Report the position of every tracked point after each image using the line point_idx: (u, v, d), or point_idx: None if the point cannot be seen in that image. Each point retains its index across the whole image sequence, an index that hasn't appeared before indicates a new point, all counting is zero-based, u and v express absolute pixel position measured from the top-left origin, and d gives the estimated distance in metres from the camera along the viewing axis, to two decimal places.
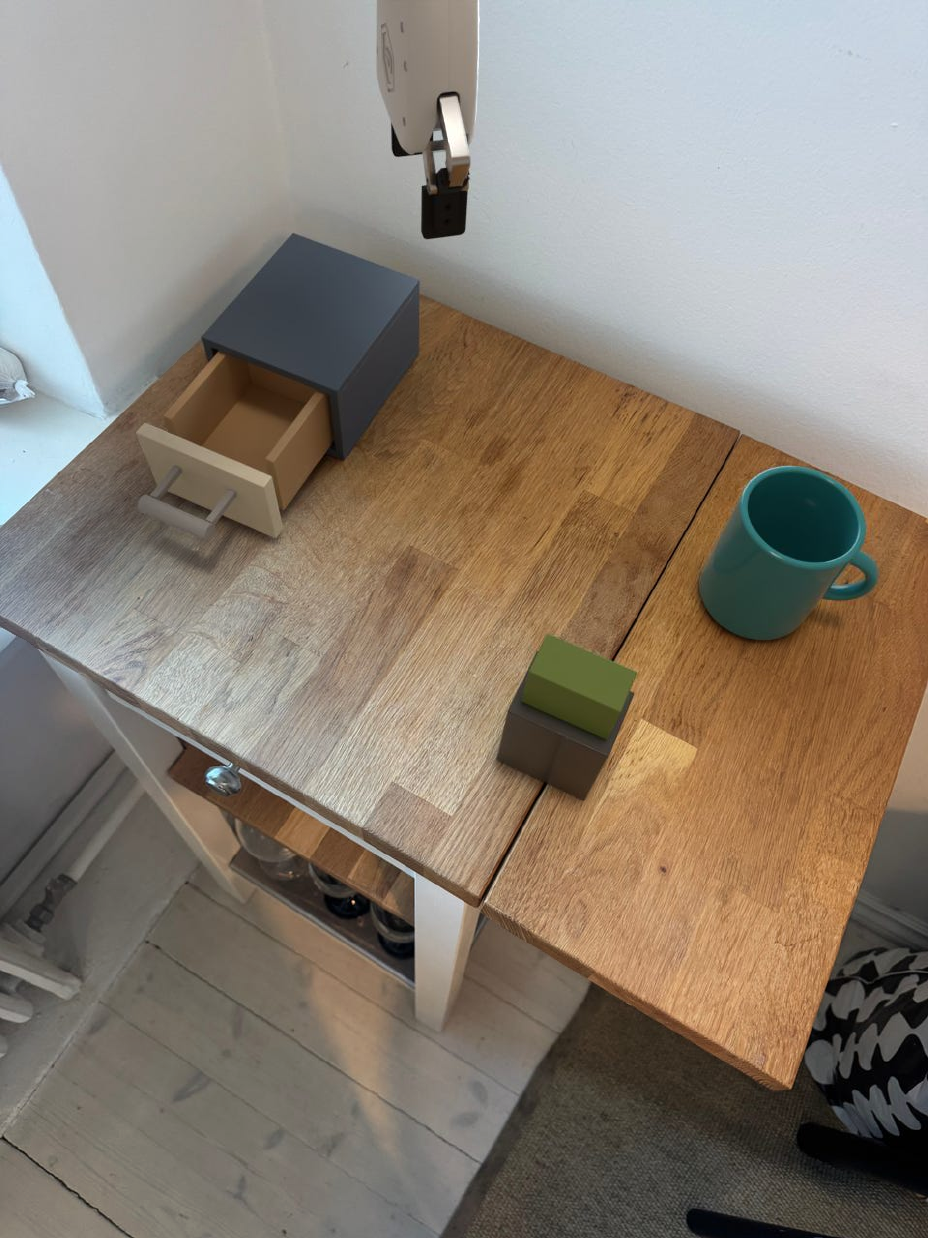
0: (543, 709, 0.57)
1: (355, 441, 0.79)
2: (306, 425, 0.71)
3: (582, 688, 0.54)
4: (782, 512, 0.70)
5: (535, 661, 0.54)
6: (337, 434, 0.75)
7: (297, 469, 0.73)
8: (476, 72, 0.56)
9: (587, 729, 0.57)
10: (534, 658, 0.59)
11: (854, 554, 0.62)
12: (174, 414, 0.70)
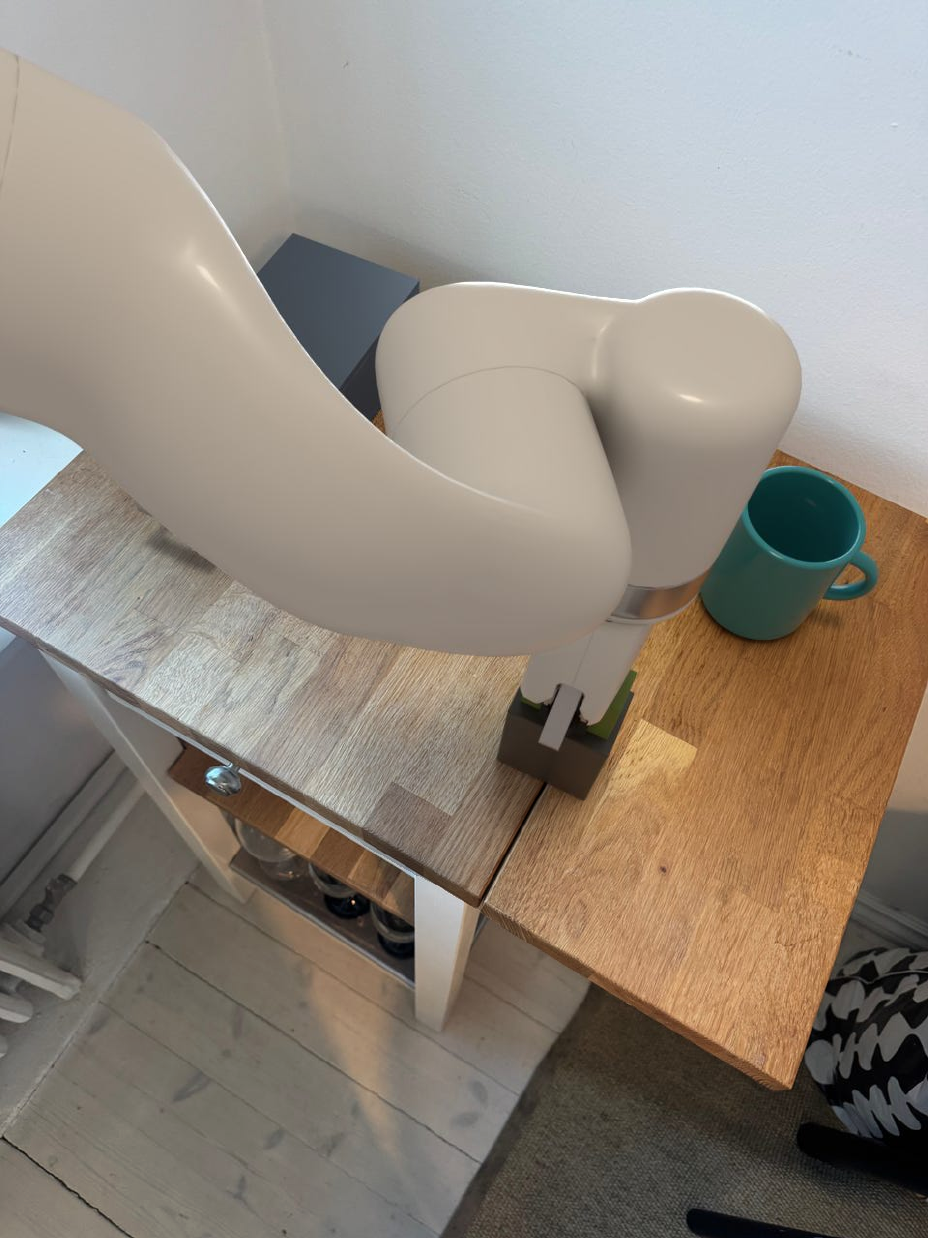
0: None
1: None
2: None
3: None
4: (782, 512, 0.70)
5: None
6: None
7: None
8: (611, 689, 0.44)
9: (587, 729, 0.57)
10: None
11: (854, 554, 0.62)
12: None
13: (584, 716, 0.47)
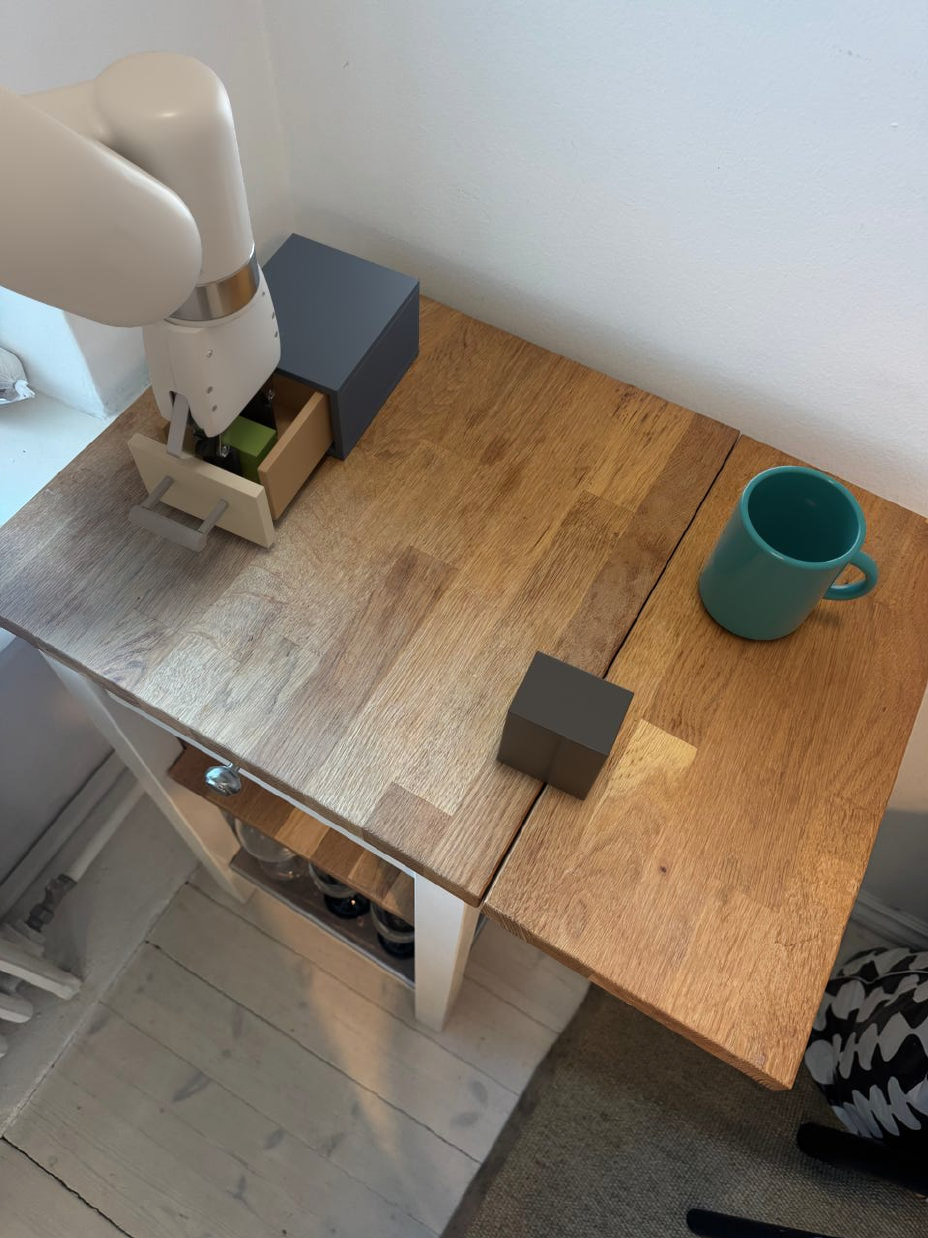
0: None
1: (355, 441, 0.79)
2: (299, 435, 0.71)
3: (230, 440, 0.70)
4: (782, 512, 0.70)
5: None
6: (337, 434, 0.75)
7: (290, 479, 0.72)
8: (200, 390, 0.61)
9: None
10: (534, 658, 0.59)
11: (854, 554, 0.62)
12: (166, 424, 0.70)
13: (199, 424, 0.64)
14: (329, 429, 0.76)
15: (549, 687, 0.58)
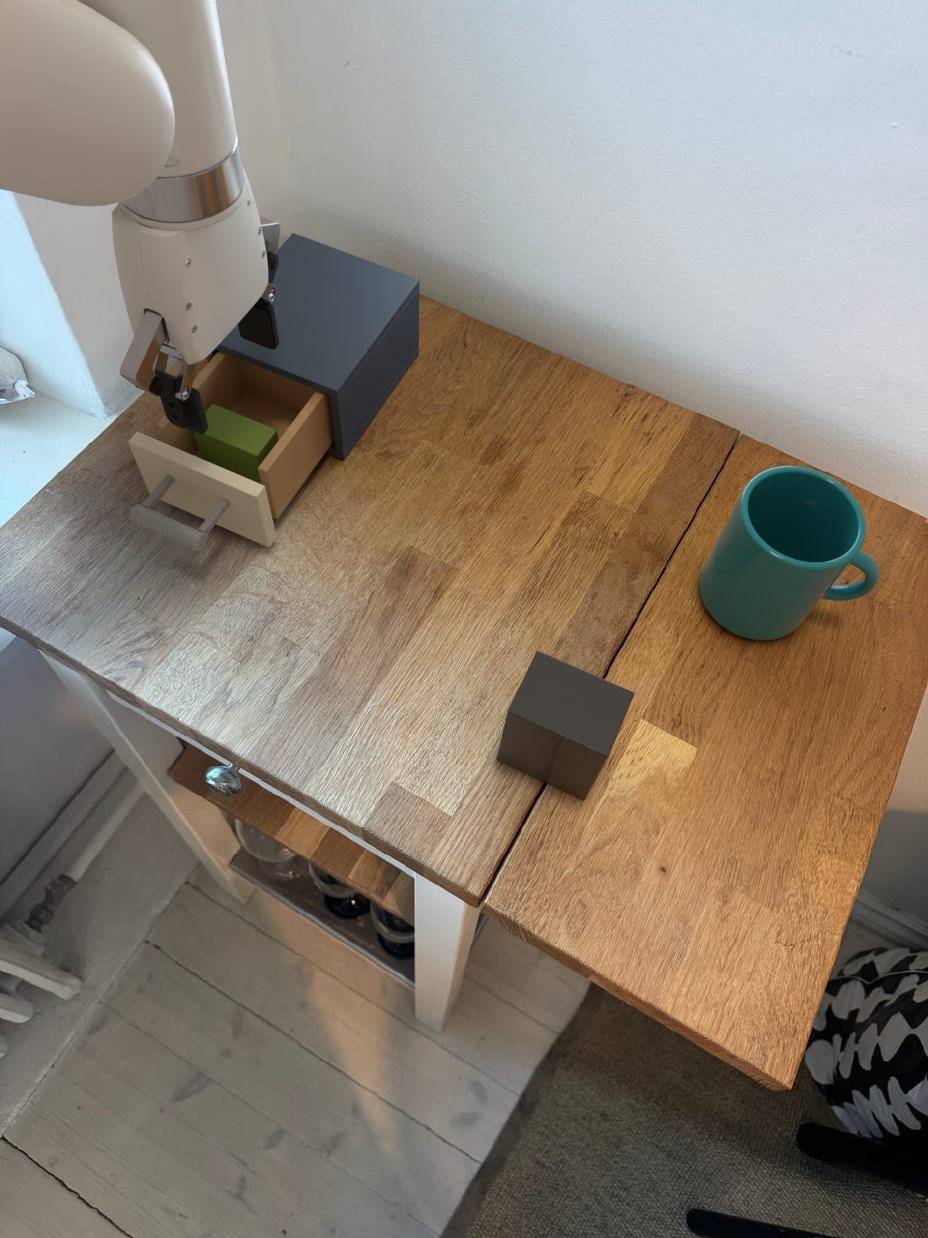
0: None
1: (355, 441, 0.79)
2: (300, 434, 0.71)
3: (230, 439, 0.70)
4: (782, 512, 0.70)
5: None
6: (337, 434, 0.75)
7: (291, 478, 0.72)
8: (178, 306, 0.55)
9: None
10: (534, 658, 0.59)
11: (854, 554, 0.62)
12: (167, 423, 0.70)
13: (177, 348, 0.58)
14: (329, 428, 0.76)
15: (549, 687, 0.58)
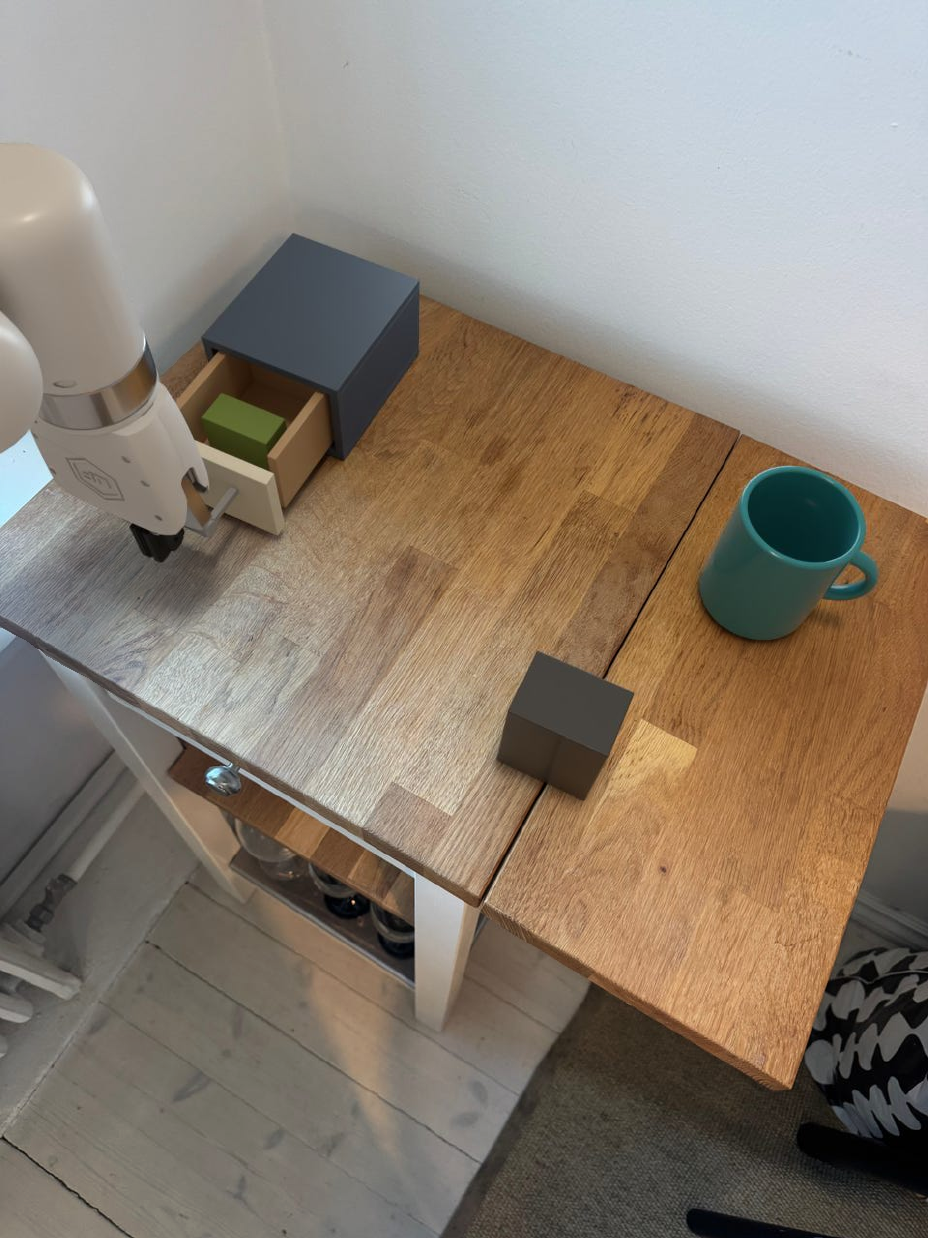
0: None
1: (355, 441, 0.79)
2: (308, 423, 0.71)
3: (239, 428, 0.71)
4: (782, 512, 0.70)
5: (207, 410, 0.72)
6: (337, 434, 0.75)
7: (299, 466, 0.73)
8: None
9: None
10: (534, 658, 0.59)
11: (854, 554, 0.62)
12: None
13: (204, 484, 0.60)
14: None
15: (549, 687, 0.58)
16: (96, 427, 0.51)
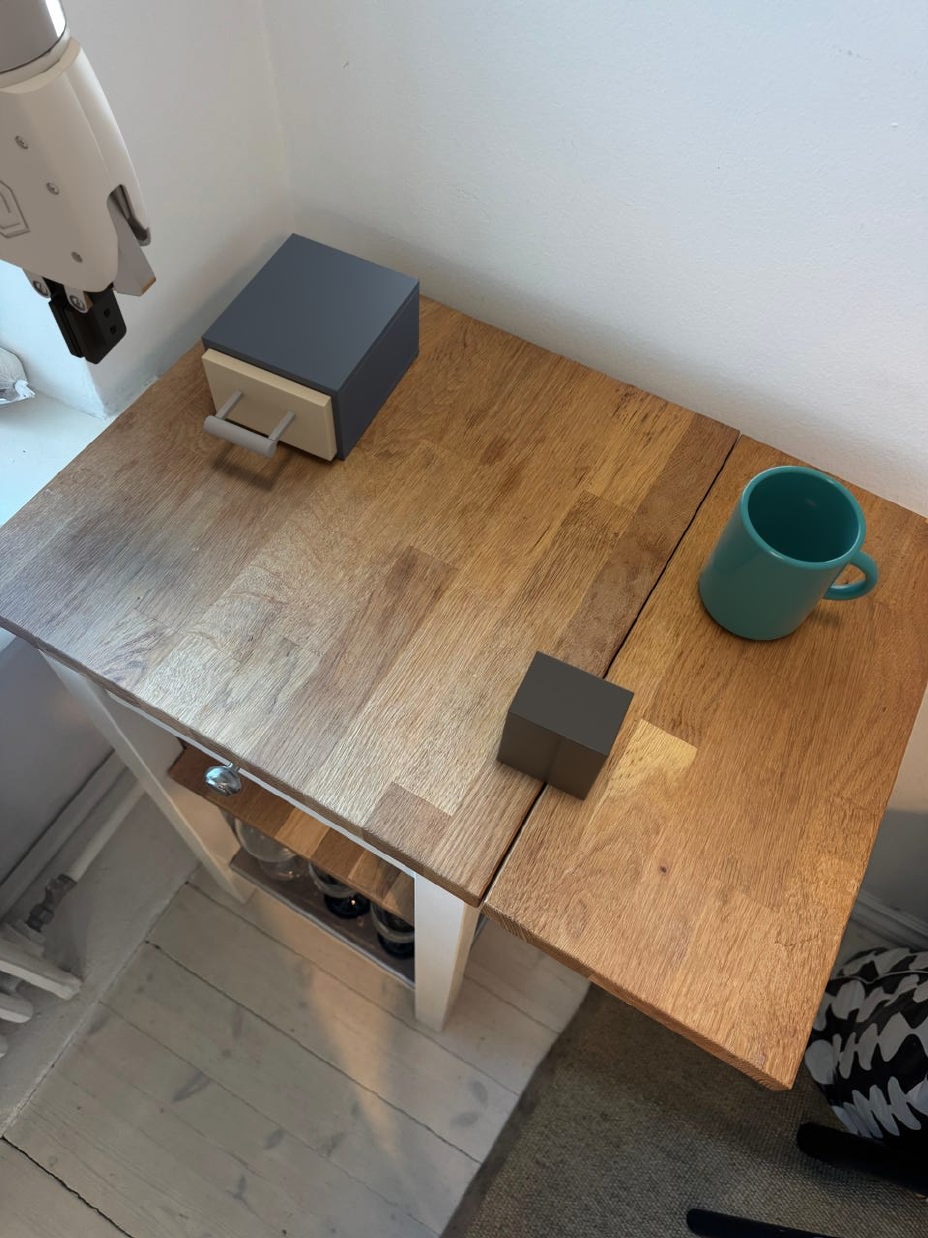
0: None
1: (355, 441, 0.79)
2: None
3: None
4: (782, 512, 0.70)
5: None
6: (337, 434, 0.75)
7: None
8: (126, 148, 0.41)
9: None
10: (534, 658, 0.59)
11: (854, 554, 0.62)
12: None
13: (143, 224, 0.44)
14: None
15: (549, 687, 0.58)
16: None
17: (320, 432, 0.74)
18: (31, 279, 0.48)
